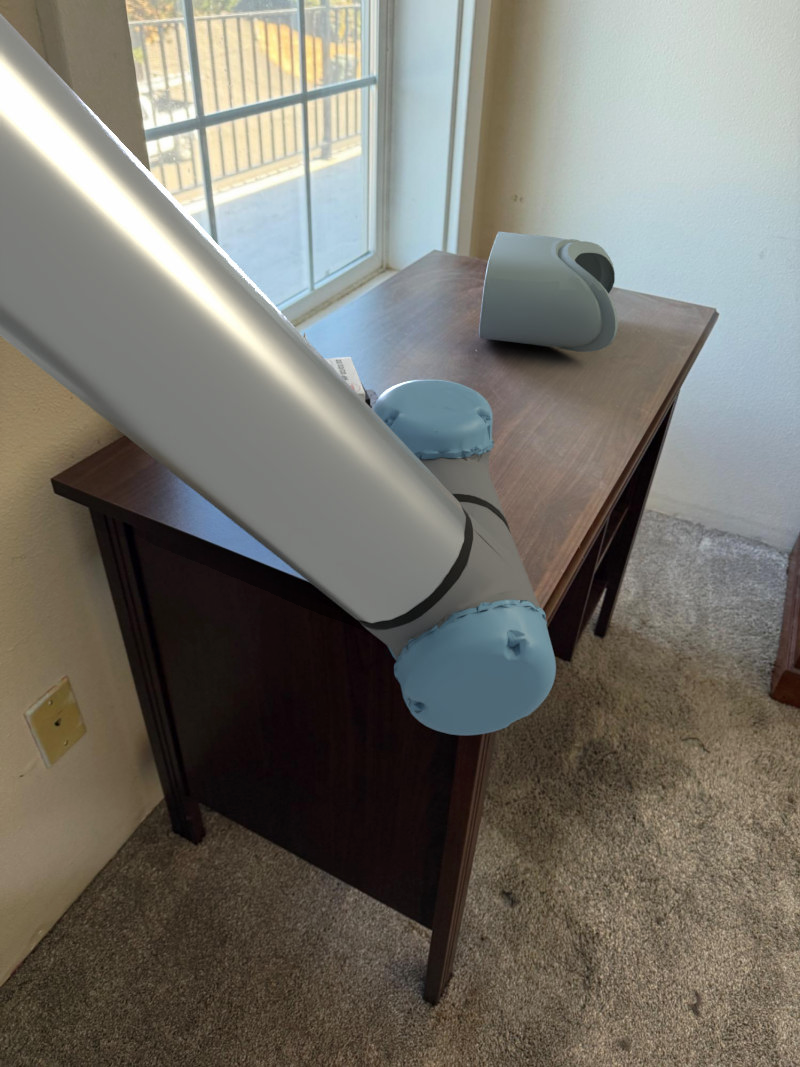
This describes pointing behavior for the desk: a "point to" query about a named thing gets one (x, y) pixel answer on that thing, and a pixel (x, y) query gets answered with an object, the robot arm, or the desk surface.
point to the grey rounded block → (548, 293)
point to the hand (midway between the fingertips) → (324, 385)
